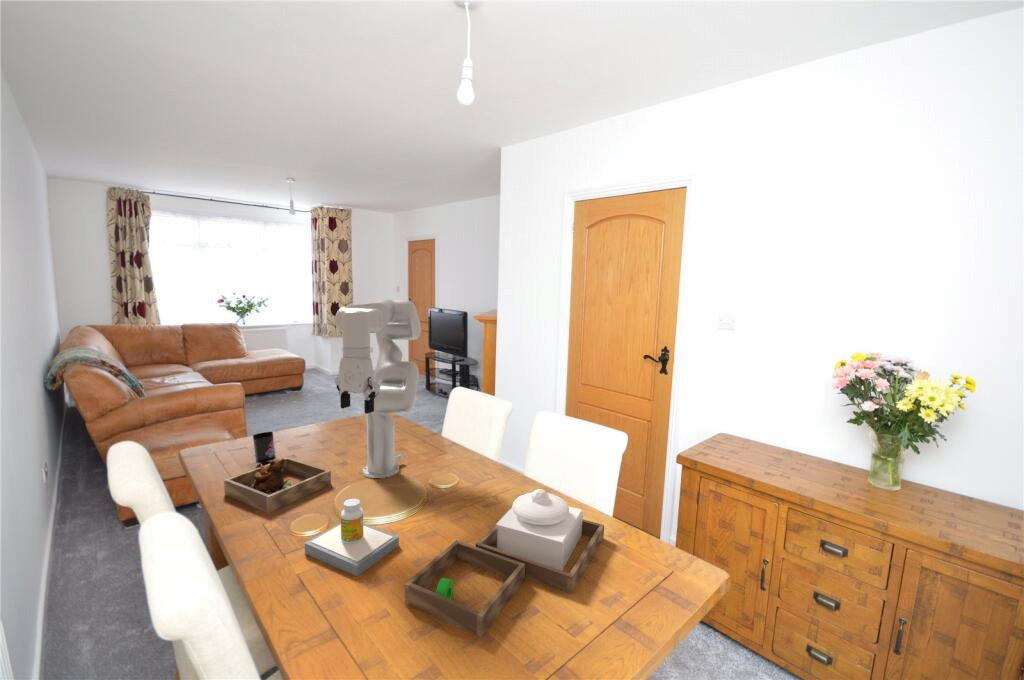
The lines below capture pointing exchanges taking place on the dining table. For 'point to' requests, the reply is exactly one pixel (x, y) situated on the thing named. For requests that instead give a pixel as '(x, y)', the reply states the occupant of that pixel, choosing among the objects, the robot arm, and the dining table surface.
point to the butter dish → (540, 529)
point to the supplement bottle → (351, 522)
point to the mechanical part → (445, 588)
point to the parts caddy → (453, 610)
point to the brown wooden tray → (269, 503)
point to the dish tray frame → (545, 572)
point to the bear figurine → (270, 478)
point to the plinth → (352, 549)
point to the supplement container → (264, 447)
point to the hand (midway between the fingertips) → (357, 409)
